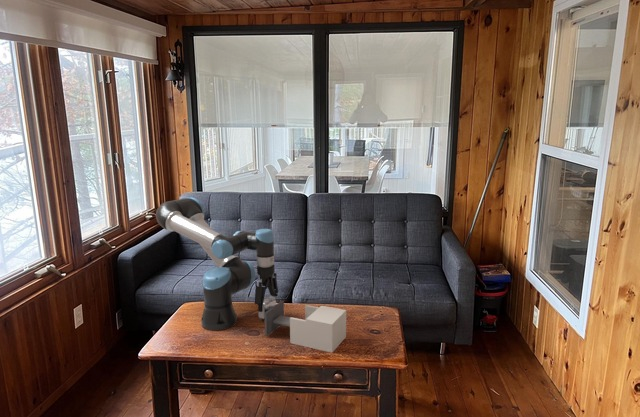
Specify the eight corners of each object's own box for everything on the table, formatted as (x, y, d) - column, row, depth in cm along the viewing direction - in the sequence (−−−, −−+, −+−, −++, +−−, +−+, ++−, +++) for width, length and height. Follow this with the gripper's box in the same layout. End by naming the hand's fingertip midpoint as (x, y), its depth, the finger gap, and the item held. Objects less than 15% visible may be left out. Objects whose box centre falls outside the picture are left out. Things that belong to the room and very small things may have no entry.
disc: (254, 307, 192) (254, 303, 191) (264, 301, 199) (264, 297, 198) (270, 311, 188) (269, 306, 188) (279, 304, 195) (279, 299, 195)
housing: (290, 343, 173) (289, 315, 171) (306, 328, 185) (306, 302, 183) (332, 352, 165) (332, 324, 163) (346, 336, 178) (346, 310, 175)
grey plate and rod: (264, 335, 178) (263, 312, 176) (281, 321, 190) (281, 300, 188) (303, 344, 170) (303, 320, 168) (318, 329, 183) (318, 307, 181)
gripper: (259, 273, 179) (261, 325, 183) (285, 259, 198) (286, 306, 202) (244, 271, 182) (246, 321, 186) (271, 257, 201) (272, 303, 205)
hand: (267, 313), depth 194 cm, fingers open, 8 cm apart
